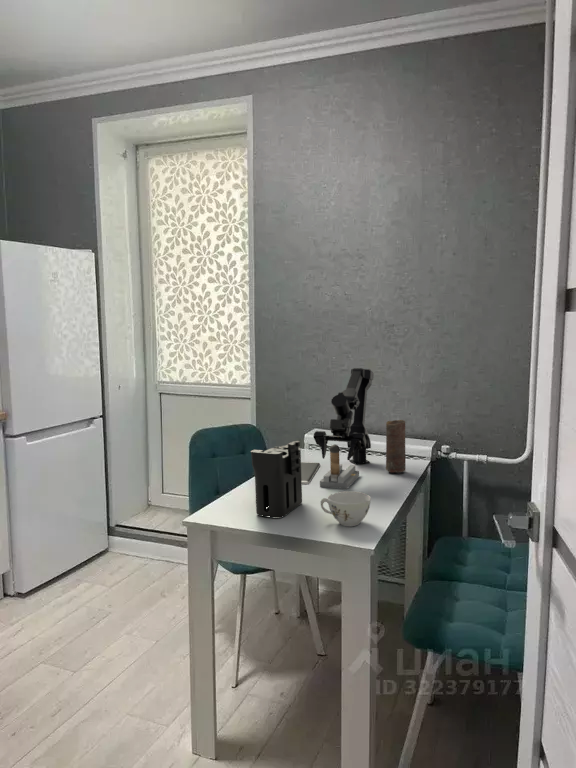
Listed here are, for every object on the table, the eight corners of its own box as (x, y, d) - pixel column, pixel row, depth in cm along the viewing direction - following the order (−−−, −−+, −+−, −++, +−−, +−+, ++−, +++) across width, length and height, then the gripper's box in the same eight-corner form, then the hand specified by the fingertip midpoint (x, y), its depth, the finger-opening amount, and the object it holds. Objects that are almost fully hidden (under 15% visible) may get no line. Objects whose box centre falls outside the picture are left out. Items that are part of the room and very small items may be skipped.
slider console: (333, 474, 222) (333, 463, 222) (359, 475, 219) (359, 465, 218) (319, 486, 207) (319, 475, 206) (347, 488, 203) (346, 477, 202)
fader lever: (331, 478, 209) (331, 443, 208) (341, 479, 208) (340, 443, 206) (329, 481, 206) (328, 445, 204) (338, 481, 204) (338, 445, 203)
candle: (407, 474, 218) (406, 422, 216) (387, 475, 218) (387, 423, 216) (403, 469, 226) (403, 418, 223) (384, 470, 226) (384, 419, 223)
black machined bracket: (252, 517, 178) (249, 446, 175) (281, 497, 196) (279, 433, 194) (286, 521, 173) (284, 449, 170) (313, 501, 191) (312, 435, 189)
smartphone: (272, 485, 213) (272, 480, 213) (288, 465, 239) (288, 461, 239) (308, 486, 210) (308, 481, 210) (320, 466, 236) (320, 462, 236)
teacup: (375, 518, 173) (375, 492, 172) (365, 533, 162) (364, 505, 161) (327, 513, 179) (327, 488, 178) (314, 527, 167) (313, 500, 166)
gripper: (314, 409, 213) (305, 445, 204) (364, 410, 206) (356, 448, 197) (321, 426, 221) (312, 461, 212) (369, 428, 215) (362, 465, 206)
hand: (335, 458), depth 207 cm, fingers open, 9 cm apart
